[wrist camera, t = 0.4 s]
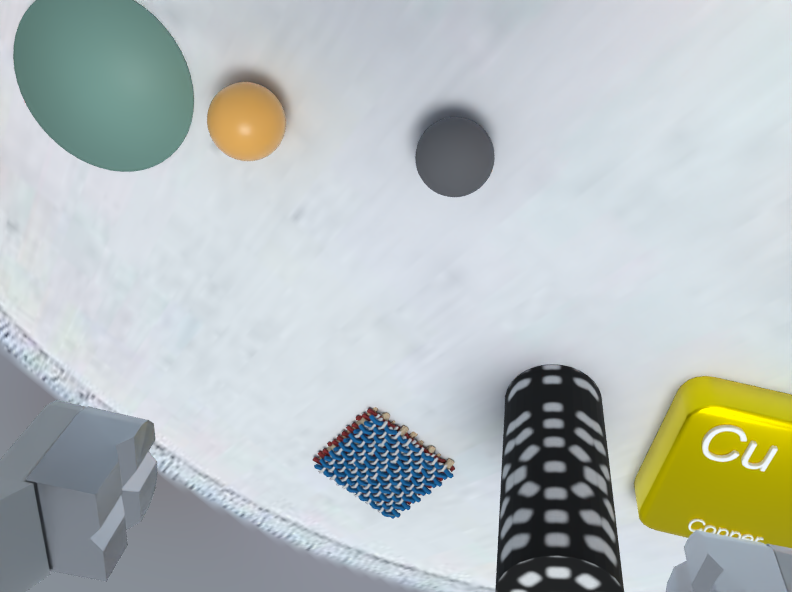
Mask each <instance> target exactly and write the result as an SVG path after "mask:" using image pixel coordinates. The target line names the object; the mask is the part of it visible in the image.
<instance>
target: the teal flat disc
mask: <svg viewBox="0 0 792 592" xmlns="http://www.w3.org/2000/svg"><path fill="white" fill-rule="evenodd" d="M13 58H14V69H15V74H16V78H17V82H18V85H19V88H20V91H21V94H22V96H23V98H24V100H25V103H26V105H27V107H28V108H29V110H30V112H31V113H32V115H33V117H34V118H35V119H36V121H37V122H38V123H39V125H40V126H41V127H42V128H43V130H44V131H45V132H46V133H47V134H48V135H49V136H50V137H51V138H52V139H53V140H54V141H55V142H56V143H57V144H58V145H60V146H61V147H62V148H63V149H65V150H66V151H67V152H69V153H70V154H72V155H74V156H75V157H77V158H78V159H81V160H83V161H85V162H87V163H89V164H91V165H94V166H97V167H100V168H103V169H108V170H113V171H121V172H128V171H139V170H144V169H147V168H150V167H153V166H155V165H157V164H159V163H161V162H163V161H164V160H166V159H167V158H168V157H170V156H171V155H172V154H173V153H174V152H175V151H176V150H177V149H178V148H179V146H180V145H181V143H182V142H183V141H184V139H185V137H186V135H187V133H188V130H189V127H190V124H191V121H192V115H193V107H194V96H193V86H192V81H191V77H190V73H189V70H188V67H187V64H186V61H185V59H184V57H183V55H182V53H181V51H180V49H179V47H178V46H177V44H176V42H175V41H174V39H173V37H172V36H171V35H170V33H169V32H168V31H167V30H166V28H165V27H164V26H163V25H162V24H161V23H160V22H159V21H158V20H157V18H156V17H155V16H154V15H152V14H151V13H150V12H149V11H148V10H146V9H145V8H144V7H143V6H141V5H140V4H138V3H137V2H135V1H134V0H36V1H35V2H34V3H33V4H32V5H31V6H30V7H29V9H28V10H27V11H26V12H25V14H24V16H23V17H22V19H21V21H20V23H19V26H18V29H17V32H16V36H15V41H14V54H13Z"/></svg>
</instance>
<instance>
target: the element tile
mask: <svg viewBox="0 0 792 592" xmlns="http://www.w3.org/2000/svg"><path fill="white" fill-rule="evenodd" d="M634 487H635V494H636V501H637V507H638V514H639V519H640V520H641V522H642V523H643V524H644V525H646V526H647V527H649V528H651V529H654V530H657V531H661V532H666V533H670V534H674V535H678V536H683V537H687V538H689V536H690V535H691V534H692V533H693V532H695V531H696V530H699V531H704V532H709V533H714V534H719V535H725V536H730V537H735V538H740V539H746V540H751V541H756V542H761V543H764V544H772V545H777V546H782V547H788V548H792V395H791V394H787V393H782V392H778V391H773V390H769V389H765V388H760V387H756V386H751V385H747V384H743V383H738V382H734V381H729V380H725V379H720V378H716V377H709V376H702V377H695V378H693V379H690V380H688V381H687V382H685V383H684V384H683V385H682V386H681V387H680V388H679V389H678V391H677V393H676V395H675V397H674V400H673V402H672V404H671V406H670V408H669V410H668V412H667V414H666V416H665V418H664V420H663V422H662V424H661V426H660V428H659V430H658V432H657V435H656V437H655V439H654V441H653V443H652V445H651V447H650V449H649V451H648V453H647V455H646V457H645V459H644V461H643V463H642V465H641V467H640V470H639V472H638V474H637V476H636V478H635V481H634Z"/></svg>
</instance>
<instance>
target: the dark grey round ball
mask: <svg viewBox="0 0 792 592" xmlns="http://www.w3.org/2000/svg"><path fill="white" fill-rule="evenodd" d="M415 159H416V166H417V170H418V173H419V175H420V177H421V179H422V180H423V182H424V183H425V184H426V185H427V186H428V187H429V188H430V189H431V190H433V191H434V192H436V193H438V194H441V195H444V196H448V197H461V196H465V195H468V194H471V193H473V192H474V191H476V190H478V189H479V188H480V187H481V186H482V185H483V184H484V183H485V182H486V181H487V179H488V178H489V176H490V174H491V172H492V169H493V165H494V148H493V144H492V141H491V139H490V137H489V136H488V134H487V132H486V131H485V130H484V129H483V128H482V127H481V126H480V125H478V124H477V123H475V122H473V121H472V120H469V119H466V118H461V117H450V118H445V119H442V120H439V121H437V122H436V123H434V124H433V125H431V126H430V127H429V128H428V129H427V130H426V131H425V132H424V133H423V135H422V136H421V138H420V140H419V142H418V145H417V149H416V157H415Z"/></svg>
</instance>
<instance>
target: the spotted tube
mask: <svg viewBox="0 0 792 592" xmlns="http://www.w3.org/2000/svg"><path fill="white" fill-rule="evenodd" d="M496 592H624V587H623V578H622V570H621V561H620V553H619V544H618V535H617V527H616V518H615V509H614V501H613V492H612V484H611V475H610V466H609V458H608V449H607V441H606V432H605V423H604V415H603V406H602V398H601V394H600V391H599V389H598V387H597V386H596V384H595V383H594V381H593V380H591V379H590V378H589V377H588V376H587V375H585V374H584V373H582V372H581V371H579V370H576V369H574V368H571V367H567V366H562V365H544V366H539V367H535V368H532V369H529V370H527V371H525V372H523V373H522V374H520V375H519V376H517V377H516V378H515V380H514V381H513V382H512V383H511V384H510V386H509V388H508V390H507V393H506V396H505V415H504V435H503V455H502V475H501V494H500V514H499V534H498V553H497V573H496Z"/></svg>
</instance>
